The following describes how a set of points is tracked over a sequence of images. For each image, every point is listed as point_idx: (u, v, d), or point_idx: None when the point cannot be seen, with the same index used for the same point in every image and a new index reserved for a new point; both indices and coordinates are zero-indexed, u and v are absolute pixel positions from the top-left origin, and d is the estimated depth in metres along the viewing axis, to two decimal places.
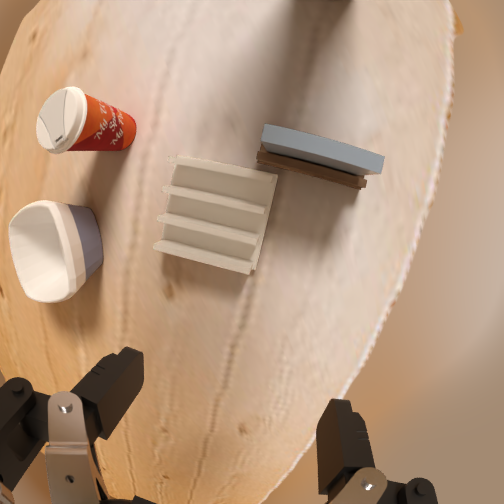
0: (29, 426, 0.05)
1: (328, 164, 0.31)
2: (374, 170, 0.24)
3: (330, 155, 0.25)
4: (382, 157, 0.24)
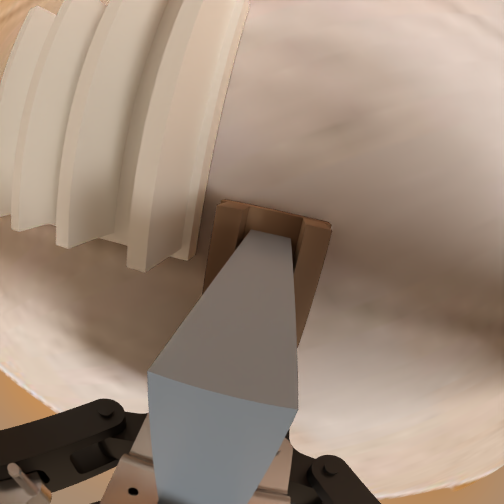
0: (106, 448, 0.06)
1: None
2: None
3: None
4: None
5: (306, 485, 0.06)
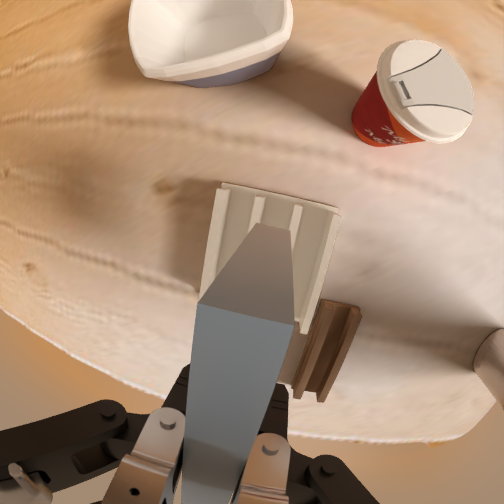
0: (108, 448, 0.06)
1: None
2: None
3: (190, 475, 0.07)
4: None
5: (304, 485, 0.06)
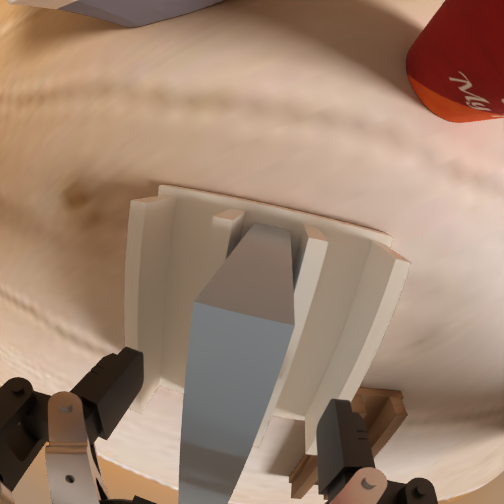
0: (29, 426, 0.05)
1: None
2: None
3: (187, 478, 0.07)
4: None
5: None
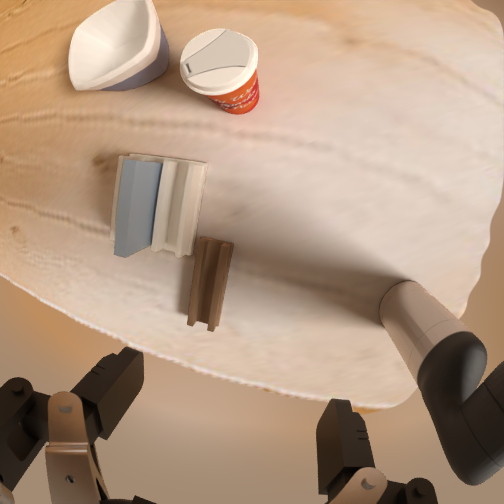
0: (29, 426, 0.05)
1: None
2: (115, 249, 0.33)
3: (118, 213, 0.31)
4: (124, 256, 0.33)
5: None
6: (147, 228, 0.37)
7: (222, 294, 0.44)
